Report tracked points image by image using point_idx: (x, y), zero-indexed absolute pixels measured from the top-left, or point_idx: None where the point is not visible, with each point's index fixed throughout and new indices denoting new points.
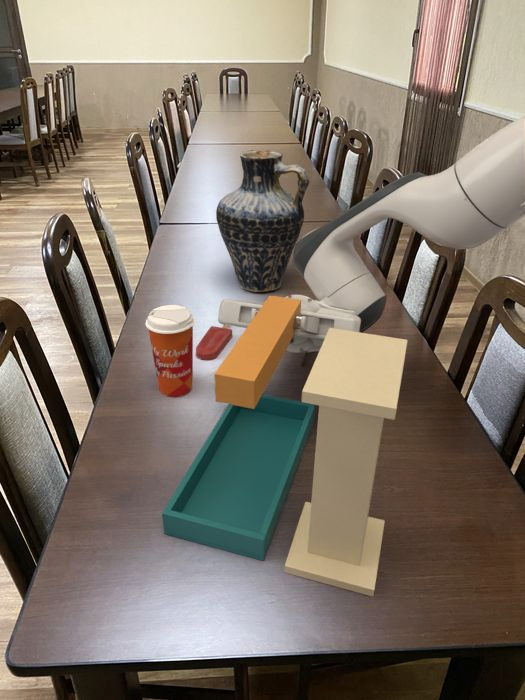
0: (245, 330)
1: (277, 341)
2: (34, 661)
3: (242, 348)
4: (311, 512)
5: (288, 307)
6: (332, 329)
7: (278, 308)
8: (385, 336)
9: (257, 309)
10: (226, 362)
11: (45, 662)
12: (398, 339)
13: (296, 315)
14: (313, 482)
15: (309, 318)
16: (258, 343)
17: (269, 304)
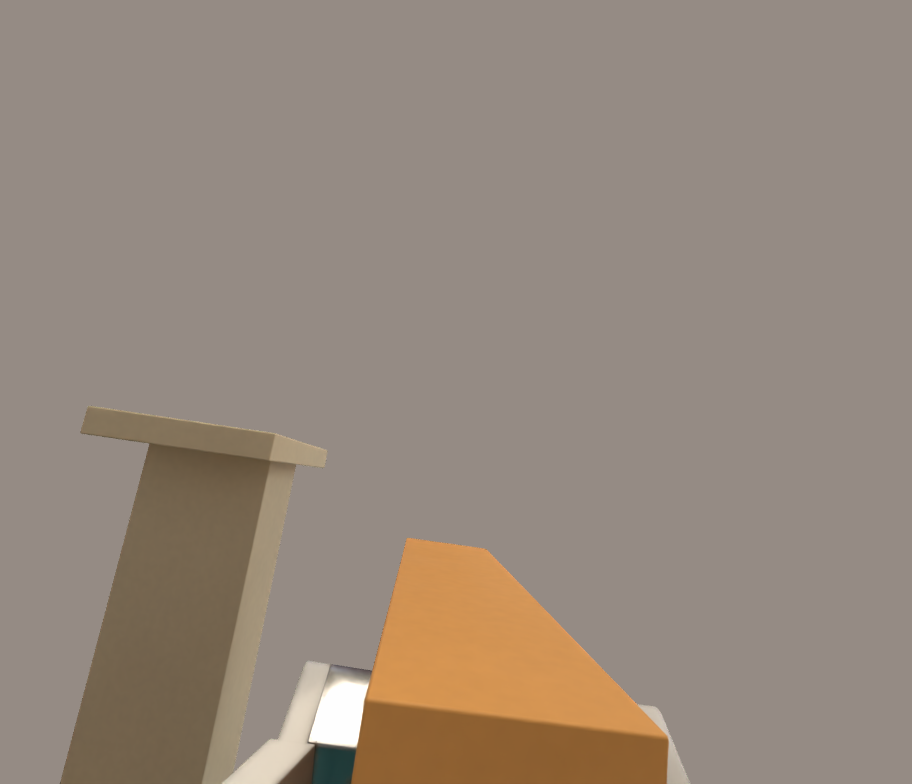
0: (521, 586)
1: (400, 564)
2: None
3: (478, 562)
4: None
5: (433, 644)
6: (268, 432)
7: (486, 639)
8: (140, 413)
9: None
10: (484, 554)
11: None
12: (112, 409)
13: (367, 672)
14: (248, 693)
15: (263, 749)
16: (449, 565)
17: (563, 662)
